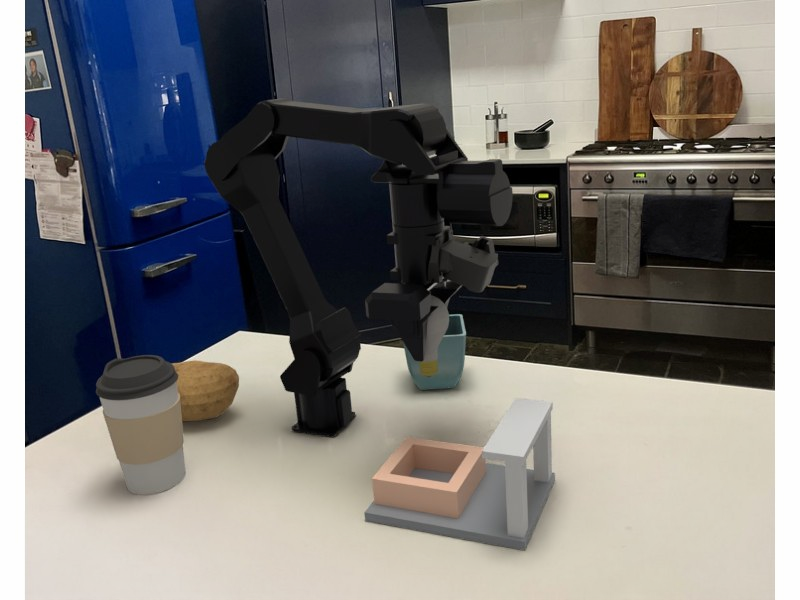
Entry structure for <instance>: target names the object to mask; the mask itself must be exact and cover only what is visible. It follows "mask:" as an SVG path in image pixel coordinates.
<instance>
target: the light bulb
mask: <svg viewBox="0 0 800 600" xmlns="http://www.w3.org/2000/svg"><path fill="white" fill-rule="evenodd" d="M431 306H439V307H438V309H437V310H436V311H435V312H434V313H433V314H432V315H431V316H430V317H429V318H428V321H427V335H426V350H425V358H424V361H422V362H419V364H420V373H421V374H422V375H424V376H427V377H431V376H432V375H435V374H436V373H437V372H438V368H437V367H438V366H437V358H438V353H437V351H438V346H439V344H440V342H441V340H442V338H443V336H444V334H445V332H446V330H447V328H448V324H449V315H450V314H449V313H450V312H449V311H448V307H447V308H446V306H445V304H444V303H443V302H442V301H441V300H440V299H438V298H437V297H435V296H431Z"/></svg>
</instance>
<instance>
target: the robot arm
mask: <svg viewBox="0 0 800 600" xmlns="http://www.w3.org/2000/svg"><path fill="white" fill-rule="evenodd" d="M289 137H291V138H296V139H305V140H312V141H320V142H326V143H327V142H328V143H334V144H341V145H349V146H353V147H356V148H359V149H362V150H363V151H365V152H366V153H368V154H369V156H373V157H375V158H378V159H381V160H383V161H382V164H381V166H380V167H379V168H378V169H377V171H376V172H375V173H373V174H372V176H371V178H370V180H371V182H372V183H380V184H383V183H384V184H385V183H386V184H387V183H389V184H388V186H389V196H390V197H389V198H390V209H391V220H392V223H391V224H392V231H391V232H390V233H388V234H387V235H386V241H387V245H394V247H393V248H394V257H395V260H394V261H395V266H394V268H392V269H391V270H390V271H389V279H390V281H391V280H392V281H401V283H394V282H393V283H392V282H391V283H390V282H383V284H381V285H380V286H379V287H377V288H375V289H374V290H373V291H372V292H371V293H370V294H369V295H368V296H367V297H366V298H365V300H364V305H365V315H366V317H367V318H368V319H371V320H376V319H377V320H385V321H386V320H387V321H388V322H389V324H390V325H392V327H393V329H394V330H395V332H396V333H397V335H398V336H399V338H400V339H401V341H402V343H404V344H405V346H406V347H407V349H408V351H409V352H410V354H411V356H412V357H413V359H414V360H415V361H420V362H422V361H424V358H425V350H426V335H427V321H428V318H429V317H430V316H431V315H432V314H433V313H434V312H435V311H436V310H437V309H438V307H439V306H431V296H435V297H437V298H438V299H440V300H441V301H442V302H443V303H444V304H445V306H446V308H447V309H448V306H449V303H450V299H451V297H452V296H454V295H455V294H456V293H457V292H458V291H459V290H460V289H461V288H462V287H465V288H466V289H467V290H468V291H470V292H473V293H482V292H483V291H484V290H485V288H487V286H489V285H490V284H491V281H492V279H493V276H494V272H495V269H496V267H497V266H498V265H499V259H498V258H499V253H496V251H495V245H494V239H491V238H489V237H487V236H484V235H480V236H479V237H477V238H476V240H475V241H474V242H472V244H471V245H470V242H468V241H465V242H464V243H462V242H459V241H456V240H454V230H453V229H451V226H450V225H445V219H446V221H447V222H448V223H450V224H452V225H467V226H468V225H473V226H490V227H491V226H493V227H502V226H504V225H506V223H507V221H508V220H509V217H510V215H511V212H512V208H513V207H512V206H513V196H514V195H513V194H514V193H513V187H512V186H511V183H510V180H509V177H508V175H507V173H506V172H505V171H504V170H503V160H502V159H500V158H492V159H491V158H489V159H487V160H486V159H485V160H469V159H468V157H467V155H466V154H465V152H464V151H463V150H462V149H461V147H460V146H459V144H458V143H457V141H456V140H455V139H454V137H453V136H452V134H451V133H450V132H449V131H448V129H447V124H446V122H445V119H444V116H443V115H442V114H441V113H440V111H439V108H437V107H436V106H435V105H432V104H429V103H414V104H406V105H396V106H390V107H388V106H387V107H380V108H370V109H369V108H360V107H359V108H358V107H349V106H340V105H339V106H338V105H333V104H331V105H330V104H323V103H314V102H303V101H295V100H291V99H289V98H285V97H283V98H276V99H268V100H261V101H260V102H257V104H256V105H255V106H254V107H252V109H251V110H250V111H249V113H248V114H247V115H246V116H245V117H243V119H242V120H240V121H239V122H238V123H236V124H235V125H234V126H233V127H231V128H230V129H229V130H228V131H227V132H225V133H224V134H223V135H221V137H220V139H219V140H218V141H215V142H213V143H212V144H211V145H210V146H208V149H207V151H206V154H205V159H204V162H203V164H204V170H205V172H206V175H207V177H208V178H209V180H210V182H211V183H212V185H213V187H214V188H215V190H216V191H217V192H218V194H219V196H220V197H221V198H222V199H223V200H224V201H225V202H227V203H228V204H229V205H230V206H232V207H233V208H234V209H236V210H237V212H239V213H240V214H241V215H242V216H243V219H244V221H245V223H246V225H247V227H248V229H249V231H250V233H251V236H252V238H253V240H254V242H255V244H256V246H257V249H258V251H259V252H260V256H261V257H262V259H263V261H264V264H265V266H266V268H267V270H268V272H269V275H270V277H271V279H272V280H273V283H274V285H275V287H276V288H275V289H277V292H278V294H279V296H280V298H281V300H282V302H283V304H284V307H285V309H286V311H287V313H288V316H289V319H290V321H289V339H288V341H289V346H290V349H291V352H292V355H293V358H294V359H293V360H292V362H291V363H289V365H288V366H287V368H285V370H283V372H282V373H281V375H280V376H279V378H280V382H282V386H283V388H284V391H286V392H288V393H293V396H294V397H293V398H294V404H295V411H296V419H297V422H296V423H294V424H293V425H292V426H291V432H296V433H300V434H301V433H303V434H308V435H309V434H310V435H315V436H316V435H318V436H322V437H323V436H325V437H332V438H334V437H336V436H337V435H338V434H339V433H340V432H341V431H343V429H344V428H346V426H347V425H348V424H350V422H351V421H352V420H353V419H355V417H356V411H353V408H352V407H353V406H352V398H351V392H350V390H349V389H348V388H347V378H345V377H344V376H345V375H346V374H349V373H351V372H352V370H353V367H354V363H355V362H356V360H357V359H359V358H358V357H359V354H360V351H361V350H362V345H361V341H360V338H359V336H361V335H362V334H361V332H360V331H359V330H358V328H357V326H356V325H355V323H354V321H353V317H352V314H351V311H350V310H349V309H348V308H347V307H342V308H341V309H337V308H335V307H334V306H333V305H332V304H330V303H329V302H328V301H327V300H326V298H325V296H324V294H323V292H322V289H321V287H320V285H319V283H318V281H317V279H316V276H315V274H314V272H313V270H312V268H311V266H310V264H309V262H308V258H307V257H306V255H305V252H304V251H303V248H302V246H301V243H300V242H299V240H298V238H297V235H296V233H295V231H294V228H293V227H292V225H291V222H290V220H289V218H288V216H287V214H286V212H285V210H284V207H283V205H282V203H281V200H280V197H279V190H280V171H279V167H278V164H277V162H276V160H277V159H278V157H279V156H280V155H281V154H282V153H283V151H284V150H285V149H286V147H287V144H288V140H289ZM431 156H432V157H431ZM404 344H403V345H404Z"/></svg>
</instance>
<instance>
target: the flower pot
mask: <svg viewBox="0 0 800 600" xmlns="http://www.w3.org/2000/svg"><path fill="white" fill-rule="evenodd" d="M463 317H464V316H463V314H460V313H459V314H458V313H457V314H449V324H448V328H447V330H446V332H445V334H444V336H443V338H442V340H441V342H440V344H439V346H438V351H437V353H438V358H437V366H438V367H437V368H438V372H437V373H436V374H435V375H432V376H431V377H427V376H424V375H422V374H421V373H420V364H419V362H420V361H415V360H414V359H413V357H412V356H411V354H410V352H409V351H408V349H407V347H406V346H405V344H404V343H403V342H402V343H403V350H404V355H405V360H406V363H407V365H406V366H407V368H408V372H409V374H410V377H411V380H412V381H413V383H414V384H415V385H416V386H417V388H418V389H419V390H420V391H421V390H422V391H423V390H424V391H426V390H441V389H454V388H455V387H456V386H457V384H458V383H459V381H460V378H461V377H462V374H463V372H464V371H463V370H464V367H465V361H466V359H465V357H466V341H467V339H466V338H467V331H466V327H465V321H464V318H463Z"/></svg>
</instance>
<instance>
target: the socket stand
mask: <svg viewBox="0 0 800 600" xmlns="http://www.w3.org/2000/svg"><path fill="white" fill-rule="evenodd" d="M553 403H554V402H553V401H547V400H539V399H538V400H537V399H529V398H521V397H515V398H514V400H513V402H512V403H511V404H510V406H509V408H508V409H507V411H506V412H505V414H504V415H503V417H502V419H501V421H500V422H499V423H498V425H497V427H496V428H495V430H494V431H493V433H492V434H491V436H490V437H489V439H488V440H487V442H486V444H485V445H484V446H483V447H482V446H478V445H477V446H476V445H468V444H462V443H461V444H460V443H455V442H446V441H438V440H431V439H423V438H417V437H411V436H410V437H409V436H406V437H405V438H404V440H403V441H402V442H401V443H400V445H398V447H397V448H396V449H395V450H394V451H393V453H392V454H391V455H390V456H389V457H388V458H387V460H385V462H384V463H383V464H382V466H381V467H380V468H379V469H378V471H377V472H376V473H375V474H374V475H373V476H372V478H371V482H372V483H371V486H372V492H373V494H372V495H373V501H372V502H371V503H370V505H369V506H368V507H367V509H366V510H365V511H364V513H363V514H364V520H365V522H371V523H376V524H381V525H388V526H392V527H398V528H403V529H407V530H413V531H417V532H424V533H428V534H429V533H430V534H435V535H439V536H440V535H441V536H446V537H451V538H456V539H461V540H462V539H463V540H466V541H472V542H477V543H483V544H488V545H493V546H499V547H504V548H510V549H514V550H518V551H519V550H520V551H526V549H527V547H528V545H529V543H530V540H531V538H532V536H533V533H534V531H535V528H536V526H537V524H538V521H539V520H540V517H541V514H542V512H543V510H544V507H545V505H546V503H547V501H548V498H549V496H550V493H551V491H552V488H553V487H554V484H555V482H556V473H555V472H553V464H552V463H553V461H552V460H553V459H552V458H553V455H552V454H553V453H552V448H553V447H552V411H553V408H554V407H553ZM532 450H533V452H532V456H533V469H530V468H527V459H528V457H529V456H530V454H531V451H532ZM487 460H488V461H489V460H490V461H496V462H503V463H504V465H502V464H496V463H489V462H487Z"/></svg>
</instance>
